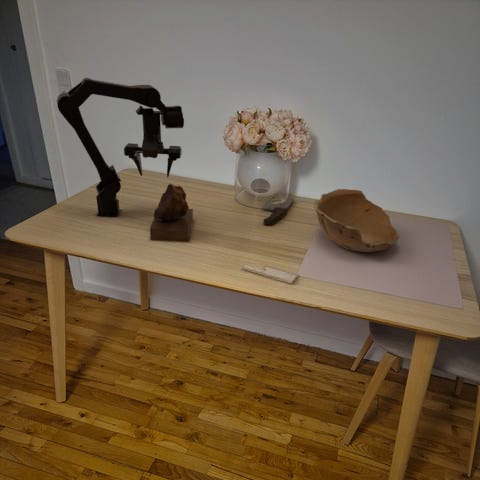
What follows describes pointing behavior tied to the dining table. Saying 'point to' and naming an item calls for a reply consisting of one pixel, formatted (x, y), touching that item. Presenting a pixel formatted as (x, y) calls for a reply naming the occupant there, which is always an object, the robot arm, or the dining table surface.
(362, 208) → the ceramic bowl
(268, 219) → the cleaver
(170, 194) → the decorative rock
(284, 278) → the white plastic strip tool
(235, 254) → the dining table surface
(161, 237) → the dark walnut box
